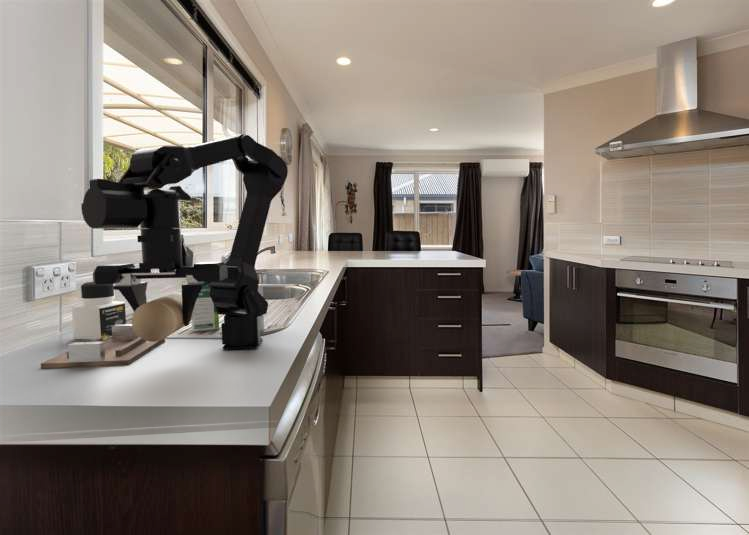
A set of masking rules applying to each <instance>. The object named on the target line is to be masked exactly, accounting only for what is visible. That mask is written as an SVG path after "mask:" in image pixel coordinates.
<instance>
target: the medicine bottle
mask: <svg viewBox="0 0 749 535" xmlns="http://www.w3.org/2000/svg"><path fill="white" fill-rule="evenodd" d="M113 286H115V284H93V281H87V282H84V283H83V284H81V285H80V289H81V290H80V292H81V293H80V294H81V302H83V303H82V304H81V303H80V304H76V305H73V306H72V307H71V315H72V330H73V339H75V340H83V341H85V340H89V341H92V340H95V339H97V338H103V340H104V339H112V326H113V325H118V324H127V316H126V315H127V314H126V313H127V312H126V303H125V301H121V300H120V301H117V300H116V301H114V300H115V299H116V297H115V296H116V295H115V290H113Z"/></svg>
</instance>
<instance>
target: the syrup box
mask: <svg viewBox="0 0 749 535" xmlns="http://www.w3.org/2000/svg"><path fill="white" fill-rule="evenodd" d="M208 285H209V284H208ZM208 285H206V286H204V287H203V288H202V289H201V291H200V293H199V295H198V297H197V300H196V303H195V306H194V307H195V313H194V317H193V319H192V320H191V328H192V332H193V333H196V332H207V331H214V330H215V331H216V330H219V329H220V319H219V318H220V317H219V316H220V315H218V314H217V311H216V308H215V305H214V303H213V302H212V299H211V298H210V288H211V287H208Z"/></svg>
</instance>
